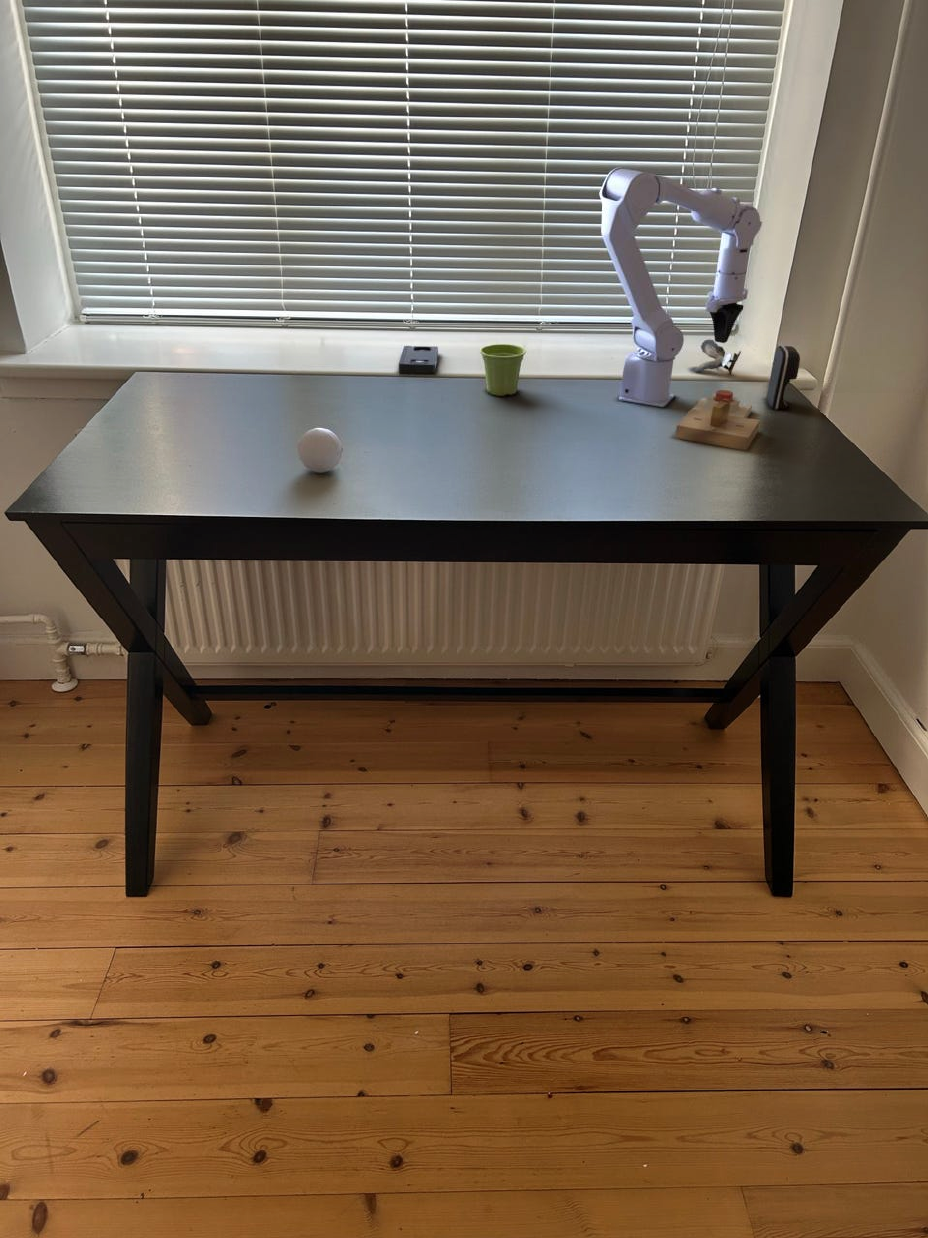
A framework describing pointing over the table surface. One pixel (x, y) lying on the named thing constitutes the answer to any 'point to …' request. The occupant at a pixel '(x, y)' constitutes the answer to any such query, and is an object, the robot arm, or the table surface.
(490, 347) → the plant pot
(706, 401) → the bell block
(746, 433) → the plate
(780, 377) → the battery charger
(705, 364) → the eagle figurine
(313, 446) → the white ball
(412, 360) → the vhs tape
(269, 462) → the table surface
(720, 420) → the thumb turn
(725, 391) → the bell button
